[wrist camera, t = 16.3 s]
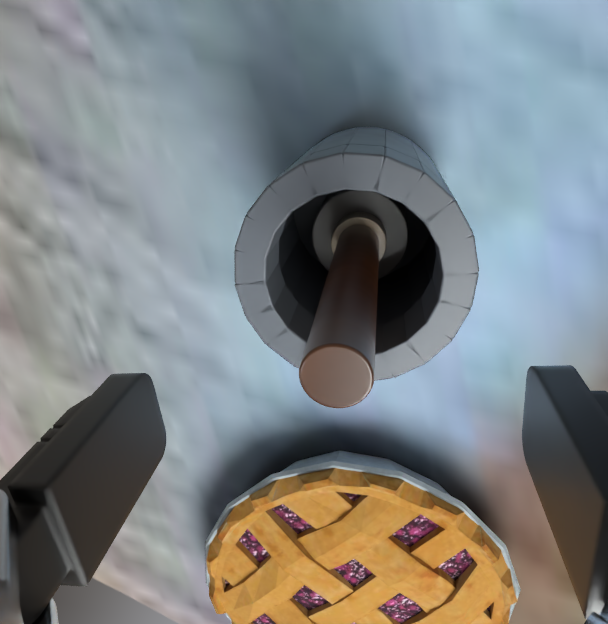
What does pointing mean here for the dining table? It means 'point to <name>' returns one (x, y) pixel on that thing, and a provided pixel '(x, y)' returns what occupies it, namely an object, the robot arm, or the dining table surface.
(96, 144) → the dining table surface
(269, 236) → the grey cup
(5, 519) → the robot arm
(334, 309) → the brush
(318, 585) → the pie
